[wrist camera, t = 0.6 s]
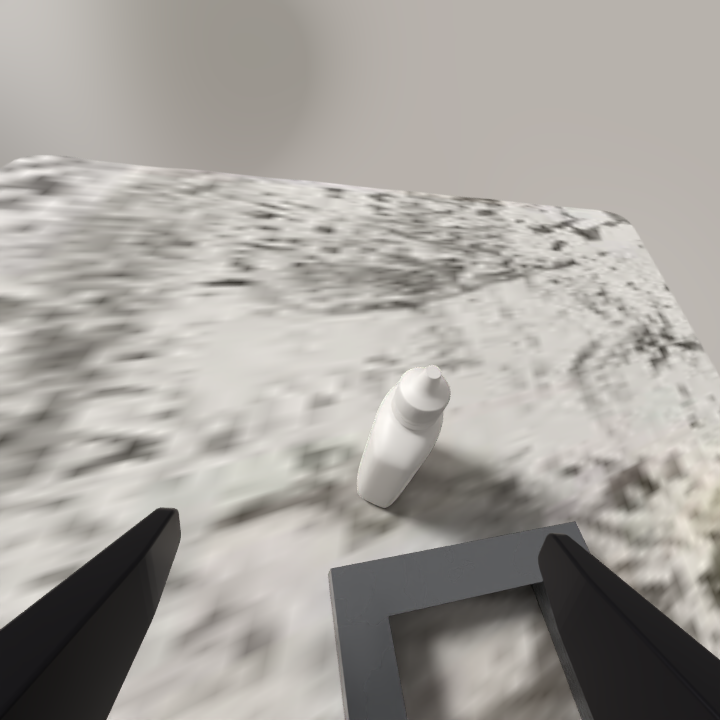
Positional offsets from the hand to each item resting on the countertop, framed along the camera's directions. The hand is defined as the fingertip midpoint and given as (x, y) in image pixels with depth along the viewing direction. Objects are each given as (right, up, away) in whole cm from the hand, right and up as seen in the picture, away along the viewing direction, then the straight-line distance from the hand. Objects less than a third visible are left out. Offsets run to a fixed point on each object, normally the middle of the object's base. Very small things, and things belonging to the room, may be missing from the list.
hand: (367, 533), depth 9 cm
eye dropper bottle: (+2, -3, +17) cm, 17 cm away
